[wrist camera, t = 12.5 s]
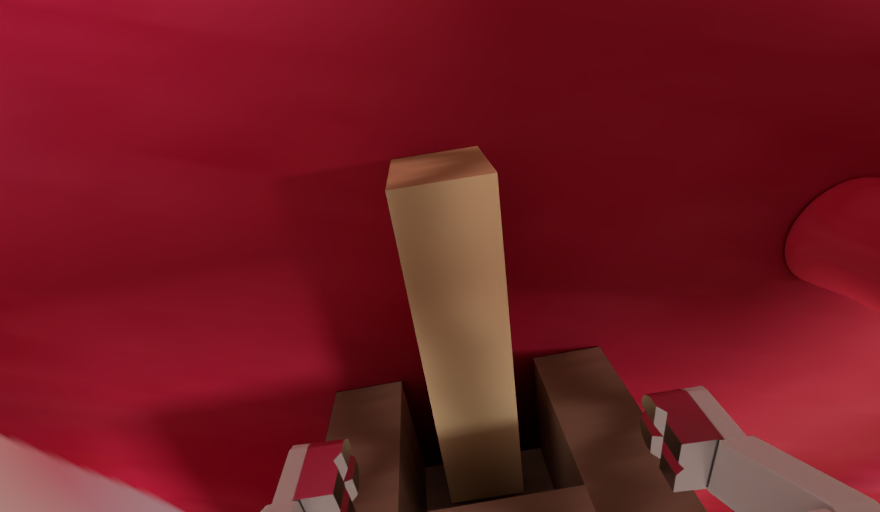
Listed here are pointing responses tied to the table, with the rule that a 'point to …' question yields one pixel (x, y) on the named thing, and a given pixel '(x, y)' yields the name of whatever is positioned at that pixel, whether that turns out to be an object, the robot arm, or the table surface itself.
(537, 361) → the end cap
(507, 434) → the slat
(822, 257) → the beer glass
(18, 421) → the table surface
